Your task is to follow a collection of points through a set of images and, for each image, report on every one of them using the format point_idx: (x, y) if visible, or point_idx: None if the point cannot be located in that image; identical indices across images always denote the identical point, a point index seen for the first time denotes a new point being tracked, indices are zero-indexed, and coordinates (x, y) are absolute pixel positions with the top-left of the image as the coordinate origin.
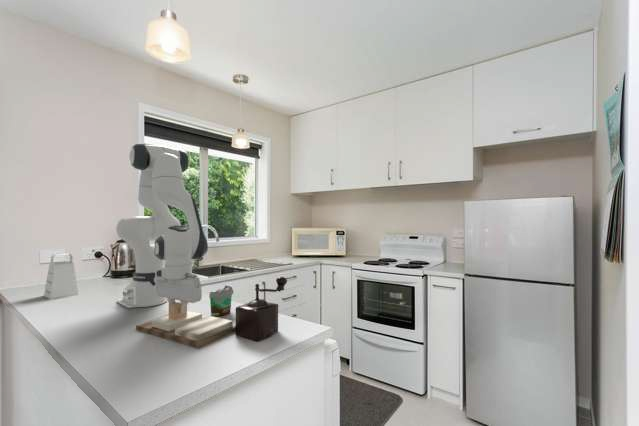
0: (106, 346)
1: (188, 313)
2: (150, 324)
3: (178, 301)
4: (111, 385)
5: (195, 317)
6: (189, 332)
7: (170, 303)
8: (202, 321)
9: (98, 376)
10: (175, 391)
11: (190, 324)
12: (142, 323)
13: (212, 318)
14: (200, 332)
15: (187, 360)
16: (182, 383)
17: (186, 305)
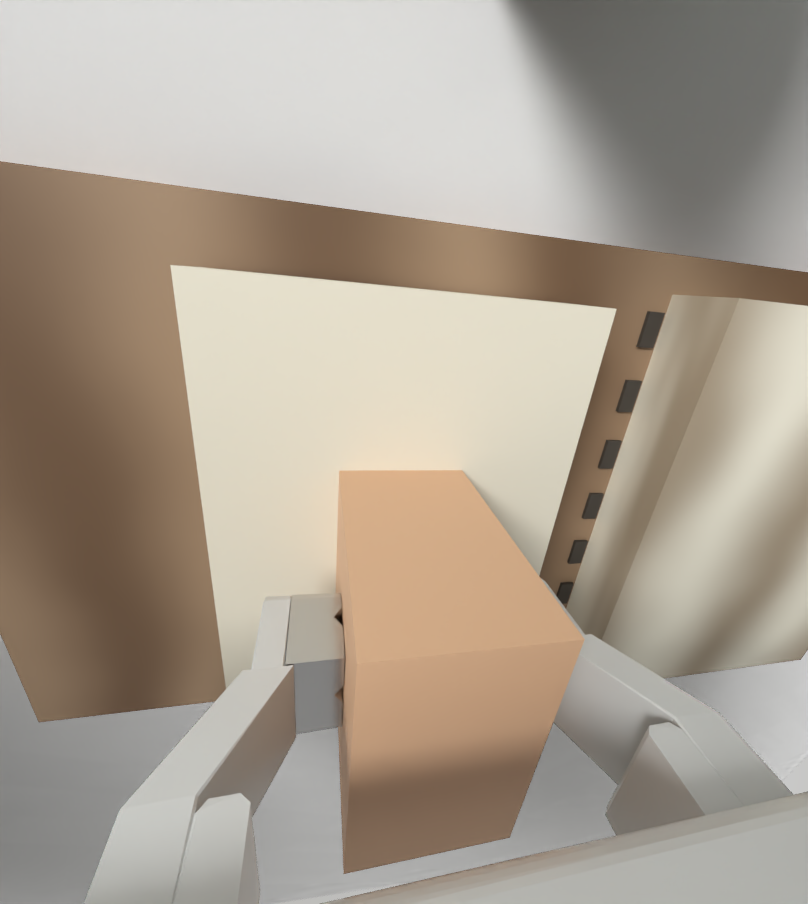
0: (253, 824)
1: (400, 386)
2: (147, 650)
3: (360, 731)
4: (590, 839)
5: (572, 421)
6: (725, 669)
7: (257, 806)
8: (731, 493)
9: (508, 854)
10: (776, 764)
11: (657, 592)
12: (33, 678)
13: (805, 371)
14: (798, 635)
15: (733, 685)
16: (779, 745)
17: (633, 671)
